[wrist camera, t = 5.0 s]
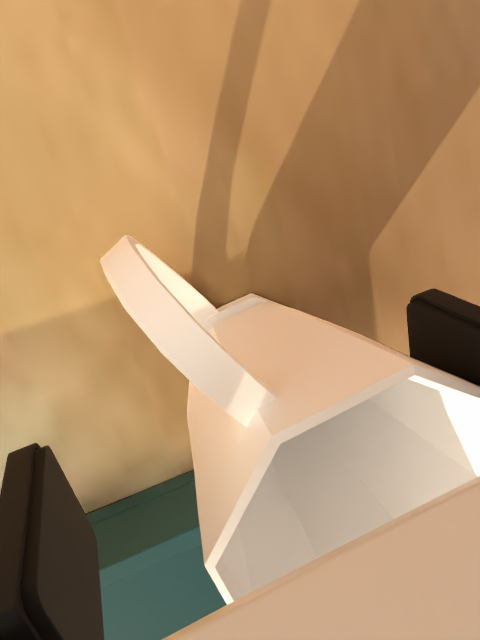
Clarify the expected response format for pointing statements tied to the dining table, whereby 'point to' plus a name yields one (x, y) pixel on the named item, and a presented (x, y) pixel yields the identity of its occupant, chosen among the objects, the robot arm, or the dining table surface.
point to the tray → (153, 563)
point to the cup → (295, 423)
